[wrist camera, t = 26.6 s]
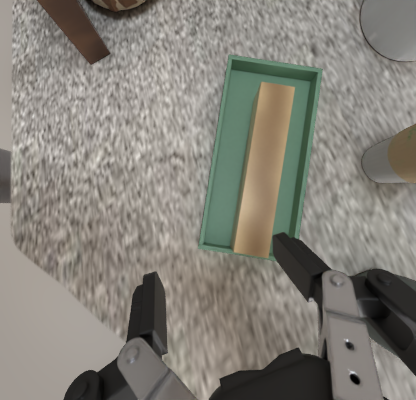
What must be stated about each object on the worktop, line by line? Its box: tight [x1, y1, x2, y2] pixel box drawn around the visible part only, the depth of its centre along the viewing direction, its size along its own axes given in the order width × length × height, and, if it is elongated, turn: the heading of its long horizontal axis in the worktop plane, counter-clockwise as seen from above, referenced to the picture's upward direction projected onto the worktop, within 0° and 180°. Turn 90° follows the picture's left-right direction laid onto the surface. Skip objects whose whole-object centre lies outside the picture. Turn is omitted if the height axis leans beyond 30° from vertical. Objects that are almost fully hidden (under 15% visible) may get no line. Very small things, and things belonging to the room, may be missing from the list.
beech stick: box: [230, 82, 295, 258], centre depth 26 cm, size 4×22×4 cm, turn 170°
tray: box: [198, 55, 323, 261], centre depth 28 cm, size 27×13×3 cm, turn 171°
